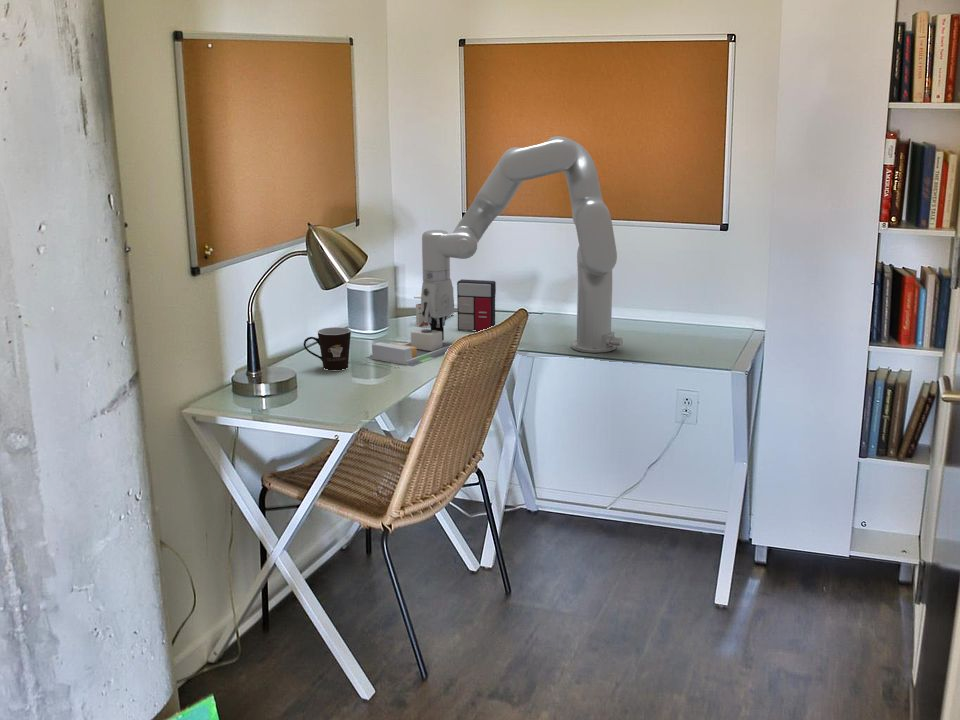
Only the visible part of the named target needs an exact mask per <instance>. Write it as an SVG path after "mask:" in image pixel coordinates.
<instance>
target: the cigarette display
mask: <svg viewBox="0 0 960 720" xmlns="http://www.w3.org/2000/svg"><path fill="white" fill-rule="evenodd" d="M413 298H414V299H420V300H421V293H419V294H417V295H414V297H413ZM453 314H454V315H455V311H454V312H453V313H452V314H450V316H449V317H447V318H446V319H448V318H450V317H451V315H452V316H454V315H453ZM415 316H416V318H415V319H416V321H415V323H416V324H415V325H414V327H417V328H427V327H430V325H429V323H425V322H424V317H423V316H422V313H421V303H417V304H415Z"/></svg>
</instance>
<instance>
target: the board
mask: <svg viewBox="0 0 960 720" xmlns="http://www.w3.org/2000/svg"><path fill="white" fill-rule="evenodd" d="M371 344H372V345H371V351H372V352H371V354H369V356H366V357H365V359H369V360H373V361H374V360H376V361H381V362H387V363H393V364H397V365H398V364H399V365H404V366H409V367H415V366H417V365H421V364H423V363H426V362H428V361H431V360H435V359H436V358H440V357H442V356H445V355H444V354H445V352H446V351H447V349H448V348H449V346H450V345H451V344H452V343H448V342H443V341H442V348H439V349H437V350H434V351H427V350H421V349H417V357H415V358H412V347H406V346H411V341H409V342H408V341H407V342H405V343H403V344H399V345H394V344H395V343H386V342H380V341H379V342H375V343H371ZM400 345H406V346H400ZM367 363H370V364H371V361H370V362H369V361H367ZM373 364H375V365H377V363H376V362H375V363H374V362H373ZM379 365H381V366H382V364H380V363H378V366H379ZM384 366H386V367H388V365H387V364H384ZM389 367H392V368H394V366H393V365H389ZM396 367H397V366H396ZM397 368H399V367H397ZM397 368H396V369H397Z"/></svg>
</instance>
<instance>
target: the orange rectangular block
mask: <svg viewBox="0 0 960 720" xmlns="http://www.w3.org/2000/svg"><path fill="white" fill-rule="evenodd" d="M393 344H394V345H400V346H406V345H402V344H398V343H393ZM406 347H412V346H406ZM415 357H417V347H412V358H415Z"/></svg>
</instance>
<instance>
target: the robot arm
mask: <svg viewBox="0 0 960 720" xmlns="http://www.w3.org/2000/svg"><path fill="white" fill-rule="evenodd" d="M558 173H563V175H564V177H565V180H566V184H567V188H568V193H569V199H570V206H571V218H572V221H573V223H574V225H575V229H576V235H577V240H578V248H577V252H576V253H577V254H576V255H577V256H576V263H577V297H576V299H577V302H576V303H577V304H576V305H577V306H576V309H577V310H576V339H575V340H574V341H571V344H570V347H571V349H572V350H574V351H578V352H582V353H590V354H591V353H594V354H595V353H607V352H612V351H614V350H616V348H617V347H622V346H623V345H624V339H623V338H622V337H616V336H615V334H616V333H615V331H612V315H613V314H612V311H613V310H612V309H613V306H612V305H613V269H614V268H615V266H616V264H617V262H618V253H617V246H616V245H617V243H616V240H615V239H616V238H615V234H614V228H613V227H614V226H613V222H612V217H611V213H610V210H609V208H608V206H607V205H606V204H605V203H604V199H603V194H602V190H601V185H600V184H601V183H600V180H599V174H598V172H597V167H596V164H595V162H594V159H593V158H592V156H591V154H590V152H589V151H587V150H586V148H585V147H584V146H583V145H581V144H580V143H579V142H577V141H575V140H573V139H571V138H569V137H565V136H559V135H557V136H552V137H550V138H548V139H547V140H546V141H545V142H542V143H538V144H533V145H529V146H526V147H525V146H523V147H518V146H517V147H516V146H513V147H511V148H508V149H507V150H506V151H504V153H503V155H502V156H501V157H500V158H499V160H498V162H497V163H496V165H495V167H494V168H493V170H492V171H491V172H490V174H489V175H488V177H487V179H486V180H485V182H484V183H483V185H482V186H481V188H480V189H479V190H478V192H477V193H476V195H475V197H474V200H473V201H472V202H471V204H470V206H469V207H468V209H467V210H466V211H465V213H464V215H463V216H462V217H461V219H460V221H459V222H458V224H457V225H456V226H455V228H454V230H453V231H452V232H447V231H446V230H443V229H431V230H430V229H429V230H426V231H423V233H422V236H421V253H422V255H421V256H422V257H421V258H422V259H421V260H422V265H421V266H422V285H421V293H420V294H421V299H420V304H421V313H422V316H423V317H424V322H425V323H429V325H430V327H431V328H430V330H435V331H442V342H443V341H444V339H445V336H444V335H445V334H444V332H445V331H444V328H445V327H444V326H445V325H446V319H448V318H450V317H451V316H450V314H452V313H453V312H454V313H455V296H454V295H455V294H454V286H453V283H452V279H451V259H450V258H454V259H458V260H459V259H461V260H462V259H463V260H465V259H470V258H471V257H473V256H474V255H475V254H476V252H477V251H478V244H479V242H480V240H481V239H482V237H483V236H484V234H485V233H486V231H487V229H488V228H489V227H490V226H491V224H492V223H493V222H494V221H495V219H496V218H497V217H499V215H501V214H502V213H503V212H504V211H505V209H507V208H508V205H509V203H510V202H511V201H512V199H513V198H514V197H515V194H517V191H518V190H519V188H521V185H522V184H523V182H524V181H529V180H534V179H538V178H542V177H546V176H551V175H555V174H558ZM449 316H450V317H449ZM447 317H448V318H447Z"/></svg>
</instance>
